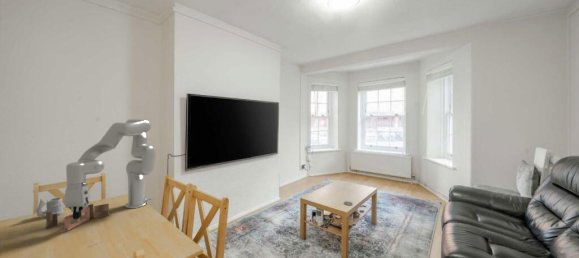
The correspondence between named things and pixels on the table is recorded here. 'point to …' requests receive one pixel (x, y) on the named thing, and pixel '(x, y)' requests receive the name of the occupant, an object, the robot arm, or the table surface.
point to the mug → (51, 207)
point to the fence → (96, 213)
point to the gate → (78, 221)
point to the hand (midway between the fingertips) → (77, 218)
